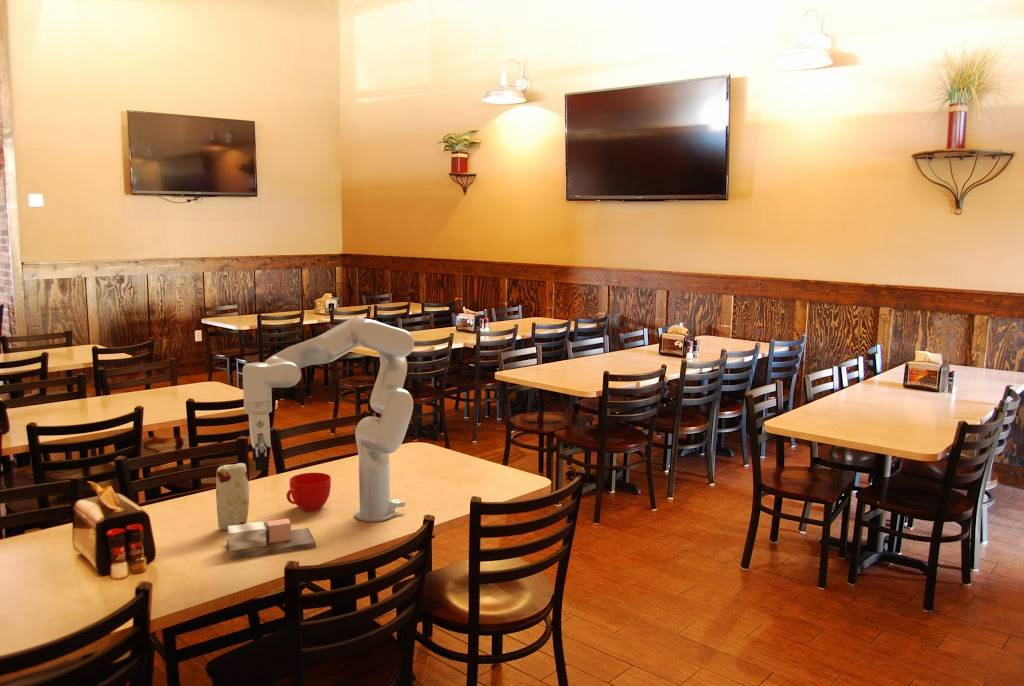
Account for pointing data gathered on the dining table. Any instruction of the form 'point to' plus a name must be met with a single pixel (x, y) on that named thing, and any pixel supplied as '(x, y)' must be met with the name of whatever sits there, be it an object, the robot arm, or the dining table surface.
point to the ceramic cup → (309, 490)
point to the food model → (232, 495)
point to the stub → (279, 530)
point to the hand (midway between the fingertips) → (260, 465)
